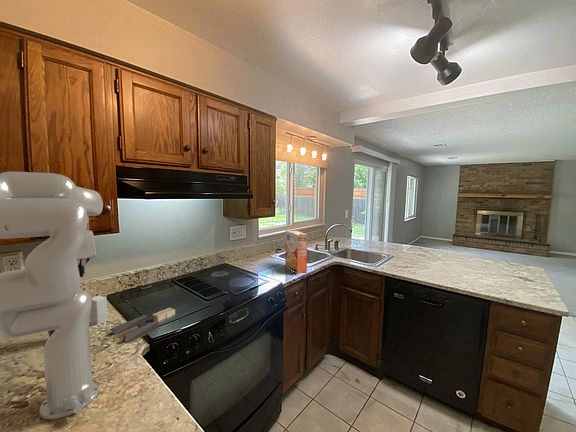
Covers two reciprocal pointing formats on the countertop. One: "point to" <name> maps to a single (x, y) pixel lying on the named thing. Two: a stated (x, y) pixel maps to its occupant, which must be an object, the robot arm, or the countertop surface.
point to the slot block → (134, 329)
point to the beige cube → (169, 312)
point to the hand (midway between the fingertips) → (79, 276)
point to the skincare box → (98, 310)
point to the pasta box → (296, 251)
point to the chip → (160, 316)
